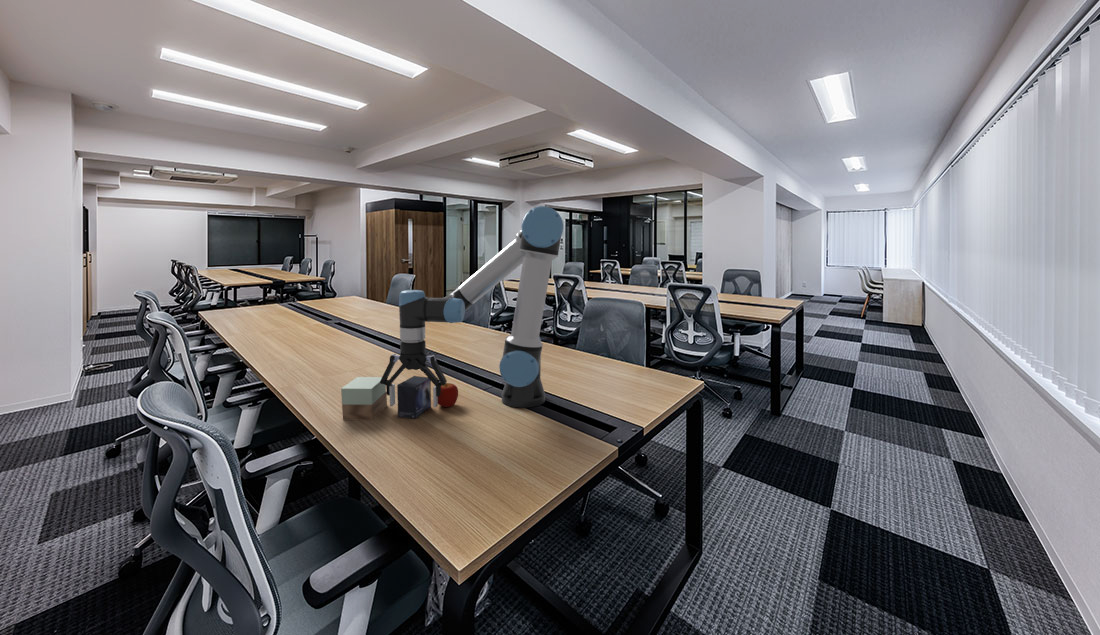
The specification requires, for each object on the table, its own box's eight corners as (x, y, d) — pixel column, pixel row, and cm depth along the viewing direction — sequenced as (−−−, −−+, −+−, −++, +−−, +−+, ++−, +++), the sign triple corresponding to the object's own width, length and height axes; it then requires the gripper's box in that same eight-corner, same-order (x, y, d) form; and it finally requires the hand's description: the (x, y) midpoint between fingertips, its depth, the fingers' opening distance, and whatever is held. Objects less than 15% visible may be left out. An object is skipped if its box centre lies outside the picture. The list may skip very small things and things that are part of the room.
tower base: (387, 406, 141) (386, 391, 141) (372, 420, 130) (371, 404, 129) (359, 405, 141) (359, 391, 140) (342, 420, 129) (342, 404, 129)
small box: (416, 419, 130) (415, 386, 128) (396, 417, 131) (395, 384, 130) (432, 407, 140) (431, 376, 139) (414, 405, 142) (413, 375, 140)
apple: (433, 410, 137) (433, 387, 136) (435, 402, 145) (434, 380, 144) (458, 409, 139) (458, 386, 138) (458, 401, 147) (458, 379, 145)
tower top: (385, 391, 141) (385, 377, 140) (372, 404, 129) (371, 388, 128) (358, 391, 140) (357, 376, 139) (342, 404, 128) (341, 388, 128)
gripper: (455, 338, 136) (455, 402, 139) (377, 336, 136) (379, 400, 139) (450, 343, 129) (451, 410, 132) (367, 341, 128) (369, 408, 131)
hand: (414, 405), depth 135 cm, fingers open, 13 cm apart
